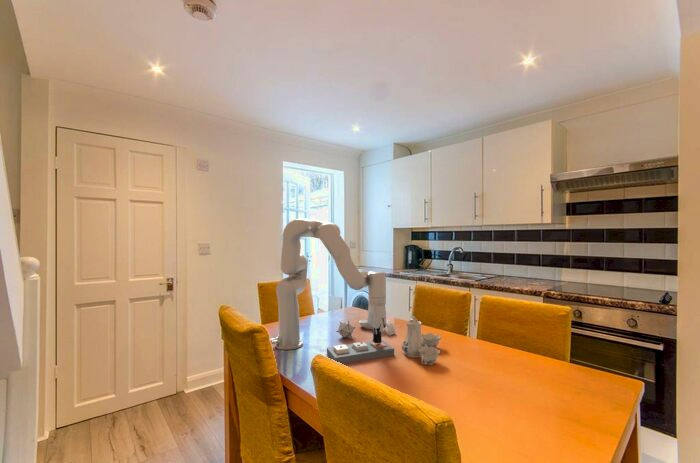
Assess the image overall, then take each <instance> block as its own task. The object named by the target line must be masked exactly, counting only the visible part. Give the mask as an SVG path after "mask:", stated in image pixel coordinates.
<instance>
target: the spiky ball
mask: <svg viewBox="0 0 700 463" xmlns="http://www.w3.org/2000/svg"><path fill="white" fill-rule="evenodd" d="M354 329H356V327H354V326H353V325H352V324H351V322H350V320H347V321H346V322H341V321H339V327H338V330H336V331H335V332H336V333H338V334H339V335H340V336H341V337H342V340H344V339H345V338H353V336H352V335H353V333H354Z"/></svg>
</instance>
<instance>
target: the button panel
mask: <svg viewBox="0 0 700 463" xmlns="http://www.w3.org/2000/svg"><path fill="white" fill-rule="evenodd" d="M381 341H382V343H384V344H385V345H386V347H382V348H374V347H373V346H371V343H374V342H373V340H372V341H365V342H364V341H363V342H364V343H366V344H367V345H368V350H362V351H355V350H354V349H353V343H349V344H345V345H346V346H347V347H348V348H349V353H343V354H336V353H335V352H334V346H331V347H330V346H329V347H326V355H327V357H328V358H329V359H330V358H331V359H333V360H335V361H337V362H340V363H342V364H341V365H347V364H351V363H357V362H358V363H359V362H364V361H370V360H376V359H382V358H388V357H393V356H395V347H393V346H391V344H388V343H387V342H386V341H384V340H383V339H381ZM331 359H330V360H331Z"/></svg>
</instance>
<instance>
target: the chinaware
mask: <svg viewBox="0 0 700 463" xmlns="http://www.w3.org/2000/svg"><path fill="white" fill-rule="evenodd" d="M405 323H406V326H407V329H406V330H407V331H406V336H405V338H404V340H403V342H402V344H401V346H400V347H401V349H402V351H404V355H405V356H406V357H409V358H421V364H423V365H429V366H432V365H434V363H435V362H436V361H437V359H439V358H438V357H439V354H440V353H441V349H438V348H437V346H438V345H439V343H440V340H441V339H442V338H441V335H440V334H433V333H432V332H431V333H430V332H429V333H426V334H422V331H421V327H422V322H421V321H420V320H418V319H417V318H416V317H415V315H413V316H412V317H411V318H410V320H406V322H405Z"/></svg>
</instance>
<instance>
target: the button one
mask: <svg viewBox="0 0 700 463" xmlns="http://www.w3.org/2000/svg"><path fill="white" fill-rule="evenodd" d="M346 345H347V344H345V343H344V344H340V345H339V344H337V345H333V347H334V352H335V353H336V354H343V353H349V348H348V347H347V346H346Z"/></svg>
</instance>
